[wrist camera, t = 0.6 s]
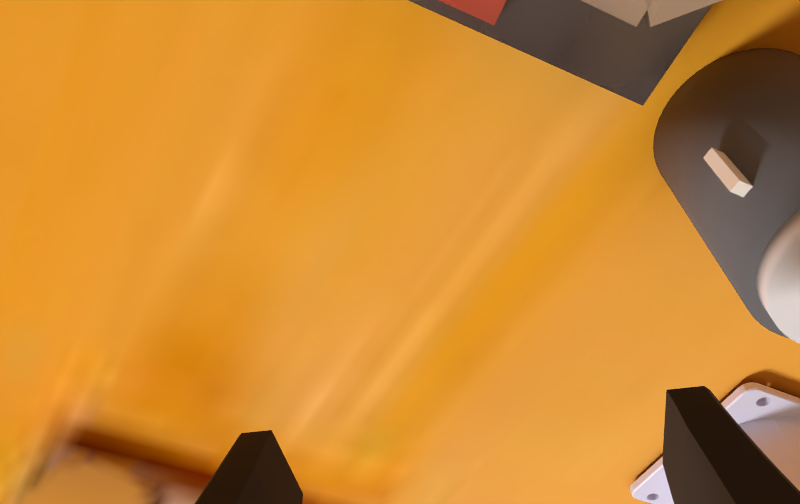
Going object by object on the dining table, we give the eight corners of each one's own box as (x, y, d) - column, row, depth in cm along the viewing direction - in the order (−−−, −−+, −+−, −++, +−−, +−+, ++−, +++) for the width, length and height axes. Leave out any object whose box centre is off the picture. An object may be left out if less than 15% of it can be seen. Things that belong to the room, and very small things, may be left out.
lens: (867, 89, 17) (1084, 225, 11) (748, 221, 20) (876, 385, 14) (715, 14, 16) (870, 122, 10) (611, 163, 19) (690, 315, 13)
